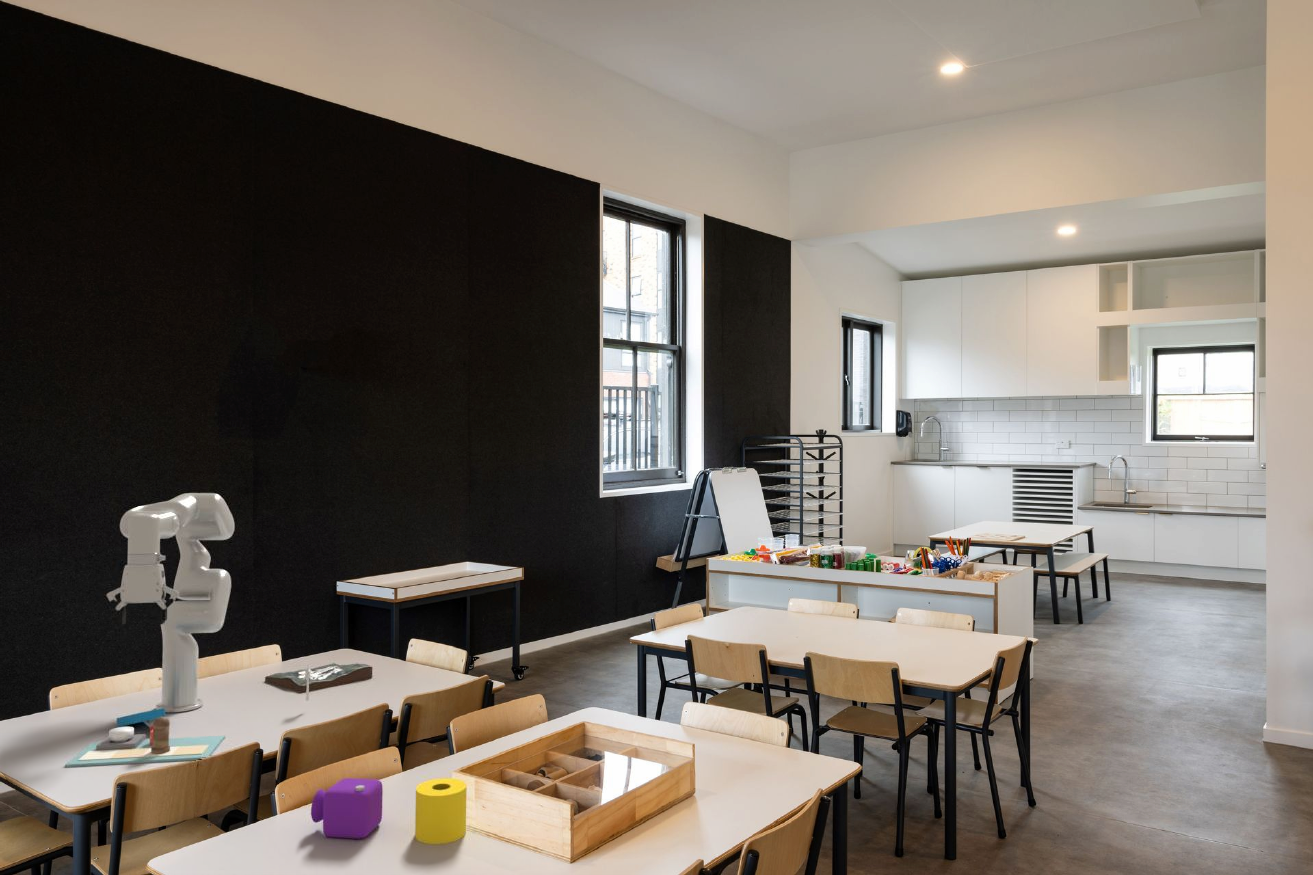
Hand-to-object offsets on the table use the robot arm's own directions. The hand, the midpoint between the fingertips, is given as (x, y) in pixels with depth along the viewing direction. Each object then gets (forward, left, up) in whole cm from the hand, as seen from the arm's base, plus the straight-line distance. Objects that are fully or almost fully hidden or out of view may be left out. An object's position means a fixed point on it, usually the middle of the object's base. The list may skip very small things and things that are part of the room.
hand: (142, 623), depth 250 cm
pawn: (+16, +9, -30) cm, 35 cm away
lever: (-8, -1, -31) cm, 32 cm away
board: (+13, +6, -30) cm, 34 cm away
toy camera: (+74, +60, -31) cm, 100 cm away
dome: (+8, -2, -29) cm, 30 cm away
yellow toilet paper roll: (+79, +79, -31) cm, 116 cm away
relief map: (-46, +40, -31) cm, 68 cm away
